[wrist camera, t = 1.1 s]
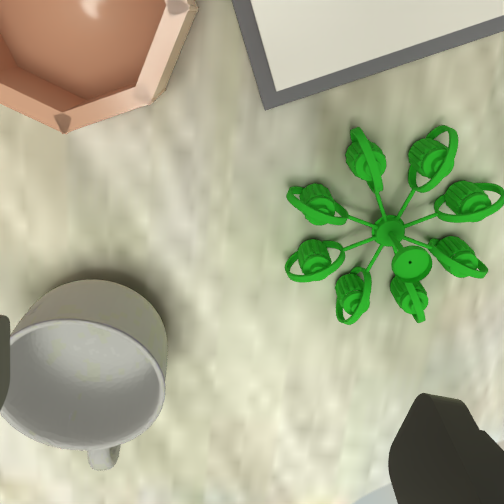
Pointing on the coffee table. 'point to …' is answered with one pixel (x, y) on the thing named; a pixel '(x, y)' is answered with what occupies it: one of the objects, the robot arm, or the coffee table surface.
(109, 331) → the teacup
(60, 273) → the coffee table surface
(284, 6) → the lid
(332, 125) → the coffee table surface
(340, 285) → the chandelier
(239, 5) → the mat
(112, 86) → the bowl
